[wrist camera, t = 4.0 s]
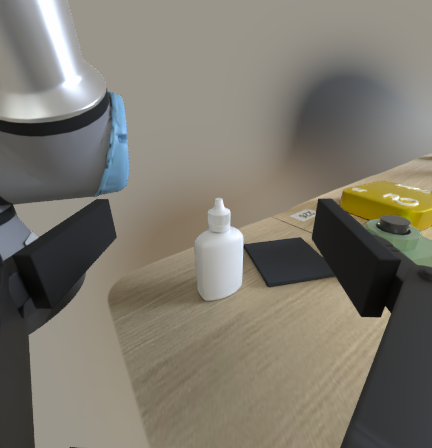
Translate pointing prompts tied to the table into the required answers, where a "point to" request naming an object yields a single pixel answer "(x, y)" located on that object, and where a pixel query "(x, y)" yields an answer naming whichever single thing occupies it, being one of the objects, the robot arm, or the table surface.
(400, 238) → the button housing
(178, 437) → the table surface
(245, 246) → the slate mat
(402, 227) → the black round knob
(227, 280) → the eye dropper bottle
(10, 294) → the robot arm
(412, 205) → the element tile
